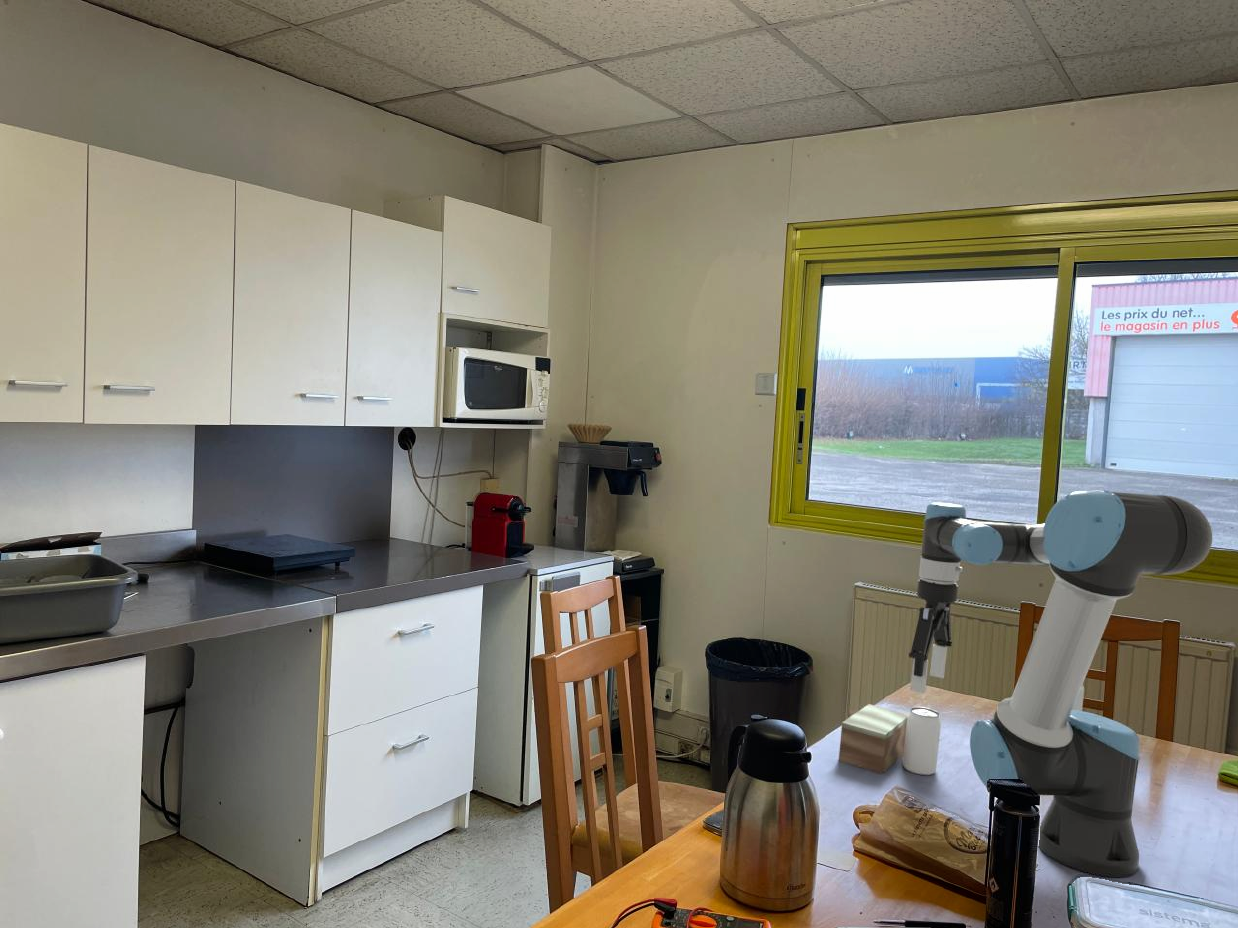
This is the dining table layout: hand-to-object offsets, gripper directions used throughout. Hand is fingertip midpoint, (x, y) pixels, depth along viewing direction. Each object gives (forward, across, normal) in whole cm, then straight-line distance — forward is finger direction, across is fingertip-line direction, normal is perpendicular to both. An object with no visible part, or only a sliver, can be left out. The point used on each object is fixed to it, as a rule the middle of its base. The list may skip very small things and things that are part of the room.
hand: (927, 683), depth 181 cm
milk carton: (+18, +35, -20) cm, 44 cm away
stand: (+18, 0, +9) cm, 20 cm away
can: (+18, 0, 0) cm, 18 cm away
